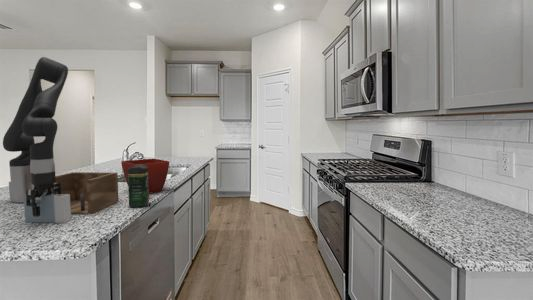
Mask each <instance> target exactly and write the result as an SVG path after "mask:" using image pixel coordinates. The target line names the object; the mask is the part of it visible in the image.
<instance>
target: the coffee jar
mask: <svg viewBox="0 0 533 300" xmlns="http://www.w3.org/2000/svg"><path fill="white" fill-rule="evenodd" d="M128 181H129V187H128V207H130V208H135V209H136V208H142V207H146V206H147V205H148V204H149V203H150V200H149V198H150V196H149V197H148V167H147V166H145V165H135V166H133V167H131V168H129V169H128Z"/></svg>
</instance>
